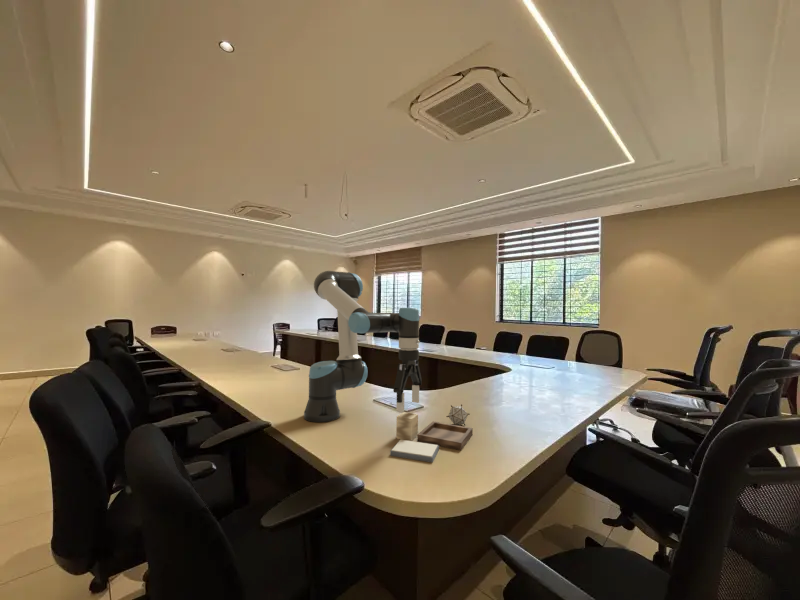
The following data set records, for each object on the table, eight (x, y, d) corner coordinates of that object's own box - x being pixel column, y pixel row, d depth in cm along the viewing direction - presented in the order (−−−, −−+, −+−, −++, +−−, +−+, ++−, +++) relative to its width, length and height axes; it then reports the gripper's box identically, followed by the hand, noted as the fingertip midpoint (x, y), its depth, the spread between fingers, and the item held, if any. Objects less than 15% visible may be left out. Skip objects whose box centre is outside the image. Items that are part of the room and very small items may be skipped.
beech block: (396, 438, 123) (396, 416, 123) (403, 433, 128) (403, 412, 128) (411, 441, 120) (411, 419, 120) (417, 435, 125) (418, 414, 126)
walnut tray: (417, 441, 120) (417, 434, 120) (432, 427, 134) (433, 421, 134) (461, 450, 113) (461, 442, 113) (472, 434, 127) (472, 428, 127)
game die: (461, 435, 137) (469, 420, 131) (442, 426, 138) (449, 411, 133) (466, 419, 144) (473, 404, 138) (447, 410, 145) (454, 395, 140)
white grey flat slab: (390, 455, 108) (390, 450, 108) (399, 443, 118) (399, 438, 118) (432, 462, 104) (432, 456, 104) (438, 449, 113) (439, 444, 113)
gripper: (403, 353, 112) (403, 417, 111) (430, 346, 134) (429, 400, 134) (383, 351, 115) (383, 414, 114) (412, 345, 138) (412, 397, 137)
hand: (408, 406), depth 124 cm, fingers open, 13 cm apart
